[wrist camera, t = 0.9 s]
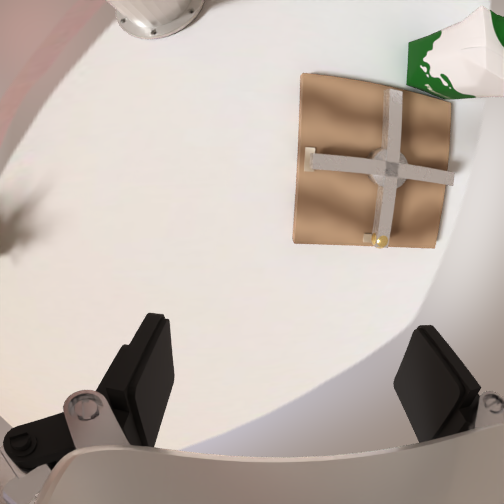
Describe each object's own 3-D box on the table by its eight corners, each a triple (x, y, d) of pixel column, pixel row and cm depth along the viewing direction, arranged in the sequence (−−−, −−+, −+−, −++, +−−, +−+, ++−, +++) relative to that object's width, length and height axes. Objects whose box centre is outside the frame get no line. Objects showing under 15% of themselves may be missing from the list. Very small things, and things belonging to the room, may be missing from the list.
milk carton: (450, 55, 31) (541, 35, 12) (448, 107, 34) (546, 108, 16) (402, 35, 31) (488, -8, 12) (399, 89, 34) (495, 71, 15)
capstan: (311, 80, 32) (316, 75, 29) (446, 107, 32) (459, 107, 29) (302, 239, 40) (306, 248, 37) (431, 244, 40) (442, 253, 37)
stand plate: (300, 76, 34) (303, 72, 32) (443, 103, 34) (452, 103, 32) (292, 238, 42) (294, 244, 40) (428, 243, 42) (435, 249, 40)
